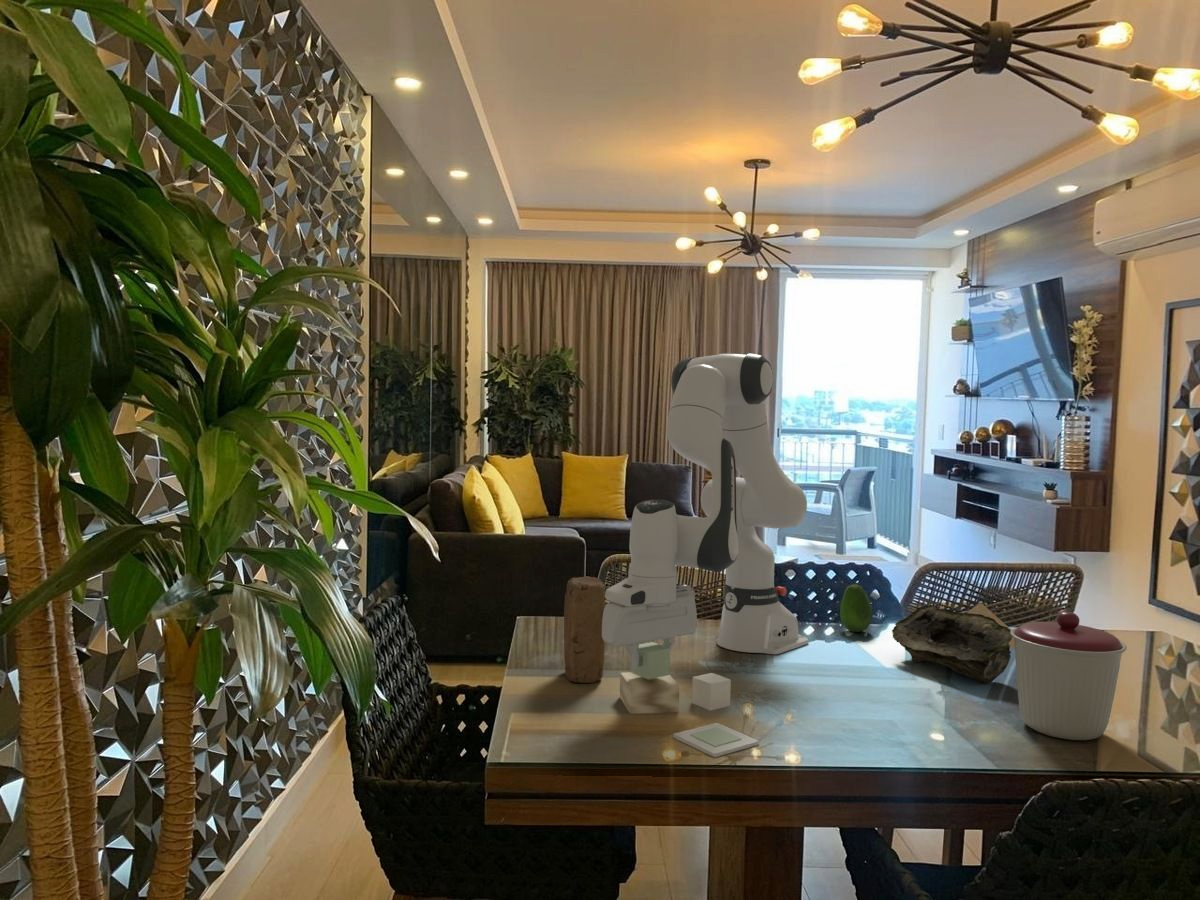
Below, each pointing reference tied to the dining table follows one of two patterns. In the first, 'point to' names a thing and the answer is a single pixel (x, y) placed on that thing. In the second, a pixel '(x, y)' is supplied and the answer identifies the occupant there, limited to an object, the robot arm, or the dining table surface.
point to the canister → (1066, 676)
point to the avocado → (855, 609)
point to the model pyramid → (986, 612)
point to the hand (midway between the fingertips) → (650, 663)
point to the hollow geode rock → (956, 641)
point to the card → (715, 739)
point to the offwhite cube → (711, 691)
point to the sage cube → (652, 661)
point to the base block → (649, 694)
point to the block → (584, 629)
